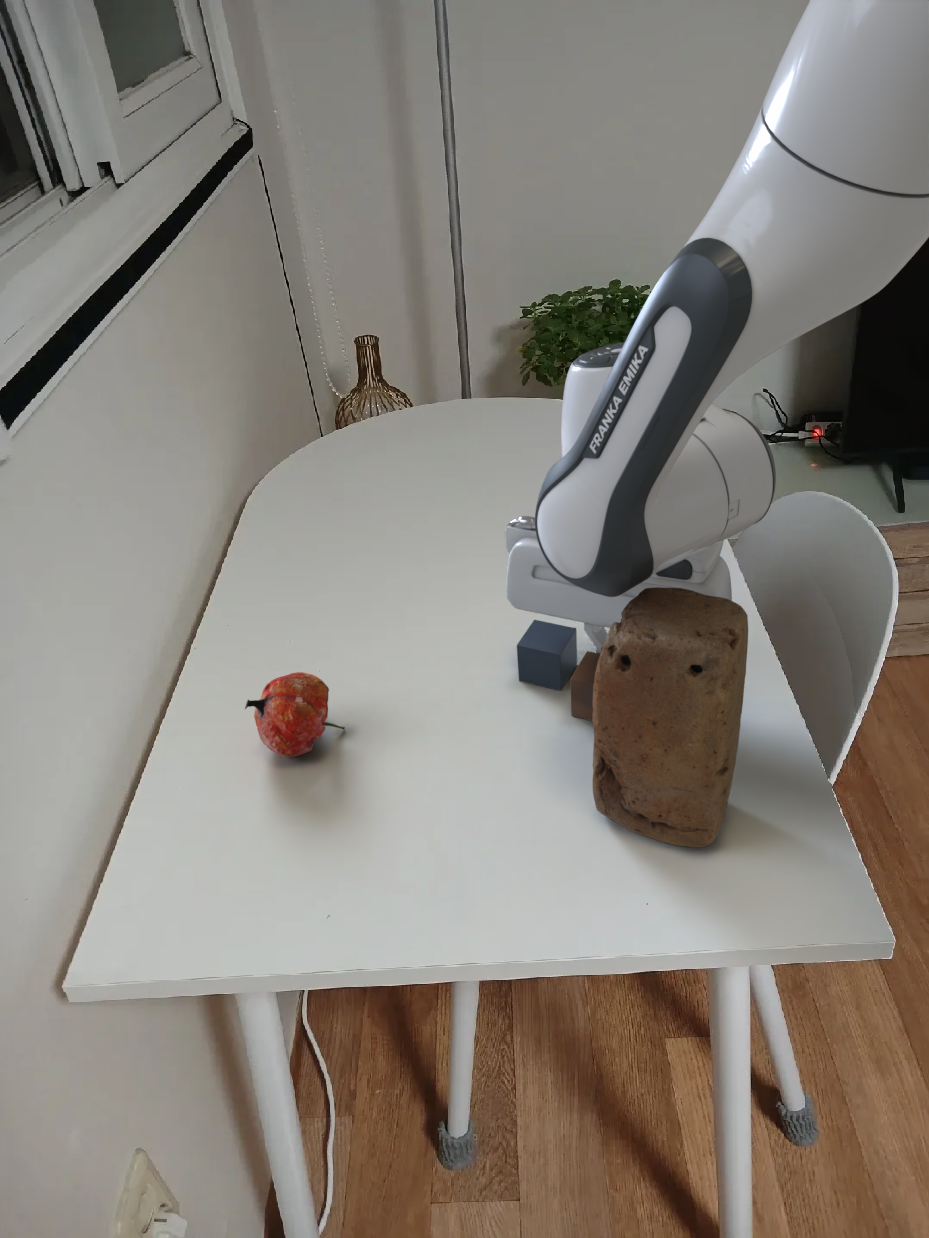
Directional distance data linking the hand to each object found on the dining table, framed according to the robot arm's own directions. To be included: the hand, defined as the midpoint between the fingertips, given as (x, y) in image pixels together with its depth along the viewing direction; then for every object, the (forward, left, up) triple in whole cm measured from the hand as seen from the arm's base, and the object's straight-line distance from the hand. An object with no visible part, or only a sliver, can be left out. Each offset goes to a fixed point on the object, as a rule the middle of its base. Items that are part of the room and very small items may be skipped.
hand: (613, 659), depth 89 cm
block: (-9, +14, -3) cm, 17 cm away
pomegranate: (+24, +17, -3) cm, 30 cm away
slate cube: (+6, 0, -3) cm, 7 cm away
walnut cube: (0, +3, -3) cm, 5 cm away
